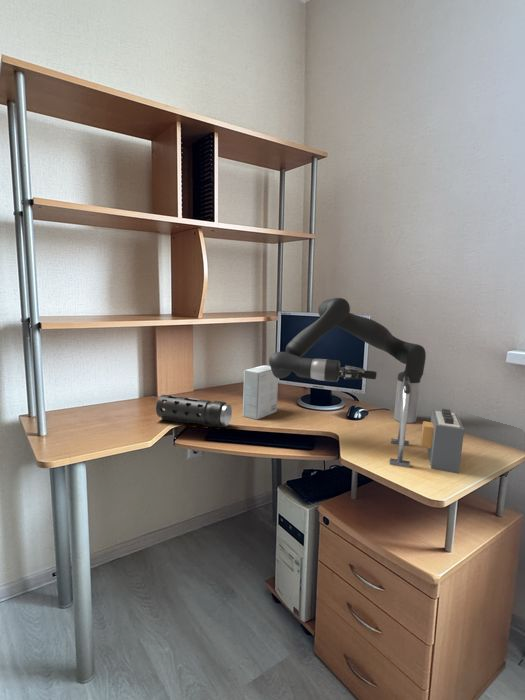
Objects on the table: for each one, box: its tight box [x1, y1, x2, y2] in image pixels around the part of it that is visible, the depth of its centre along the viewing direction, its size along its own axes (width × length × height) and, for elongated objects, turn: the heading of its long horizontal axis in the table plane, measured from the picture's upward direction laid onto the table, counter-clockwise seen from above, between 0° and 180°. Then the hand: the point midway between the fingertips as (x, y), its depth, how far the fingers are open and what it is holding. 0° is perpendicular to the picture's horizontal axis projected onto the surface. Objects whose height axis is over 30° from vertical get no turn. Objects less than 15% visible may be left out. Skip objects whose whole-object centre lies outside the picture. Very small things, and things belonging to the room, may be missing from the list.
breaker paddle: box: [420, 421, 434, 449], centre depth 141 cm, size 6×5×7 cm
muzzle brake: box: [155, 394, 233, 428], centre depth 164 cm, size 10×28×10 cm, turn 73°
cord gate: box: [389, 376, 411, 468], centre depth 143 cm, size 22×6×25 cm, turn 162°
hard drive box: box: [242, 364, 279, 421], centre depth 180 cm, size 16×8×20 cm, turn 146°
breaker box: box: [427, 408, 465, 474], centre depth 140 cm, size 18×8×16 cm, turn 162°
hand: (376, 375), depth 144 cm, fingers closed
